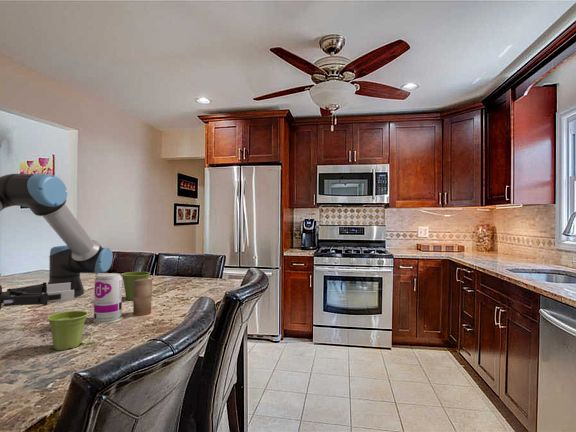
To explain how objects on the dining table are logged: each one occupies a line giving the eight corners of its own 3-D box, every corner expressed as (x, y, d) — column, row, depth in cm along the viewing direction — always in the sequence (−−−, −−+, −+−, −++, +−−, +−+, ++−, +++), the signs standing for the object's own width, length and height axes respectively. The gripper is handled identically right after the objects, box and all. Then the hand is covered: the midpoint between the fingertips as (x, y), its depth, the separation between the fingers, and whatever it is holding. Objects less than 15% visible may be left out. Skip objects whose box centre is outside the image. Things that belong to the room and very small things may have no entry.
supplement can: (109, 323, 107) (110, 277, 107) (88, 321, 108) (88, 276, 109) (126, 316, 115) (127, 273, 115) (106, 314, 116) (107, 272, 117)
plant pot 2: (142, 302, 139) (142, 275, 140) (115, 301, 140) (115, 275, 140) (154, 295, 151) (154, 271, 151) (129, 295, 152) (129, 271, 152)
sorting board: (89, 318, 115) (89, 315, 115) (149, 310, 127) (149, 306, 127) (96, 331, 102) (96, 327, 102) (161, 320, 115) (161, 316, 115)
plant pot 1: (59, 340, 95) (60, 310, 95) (93, 339, 95) (94, 310, 96) (38, 353, 85) (38, 320, 85) (75, 352, 86) (76, 319, 86)
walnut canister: (131, 312, 119) (132, 279, 119) (148, 310, 122) (149, 278, 123) (135, 316, 114) (136, 282, 114) (153, 314, 118) (153, 280, 118)
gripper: (-12, 303, 102) (69, 294, 115) (-24, 324, 83) (75, 310, 96) (-12, 279, 102) (69, 273, 115) (-24, 294, 83) (76, 285, 96)
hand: (72, 290), depth 106 cm, fingers open, 13 cm apart
